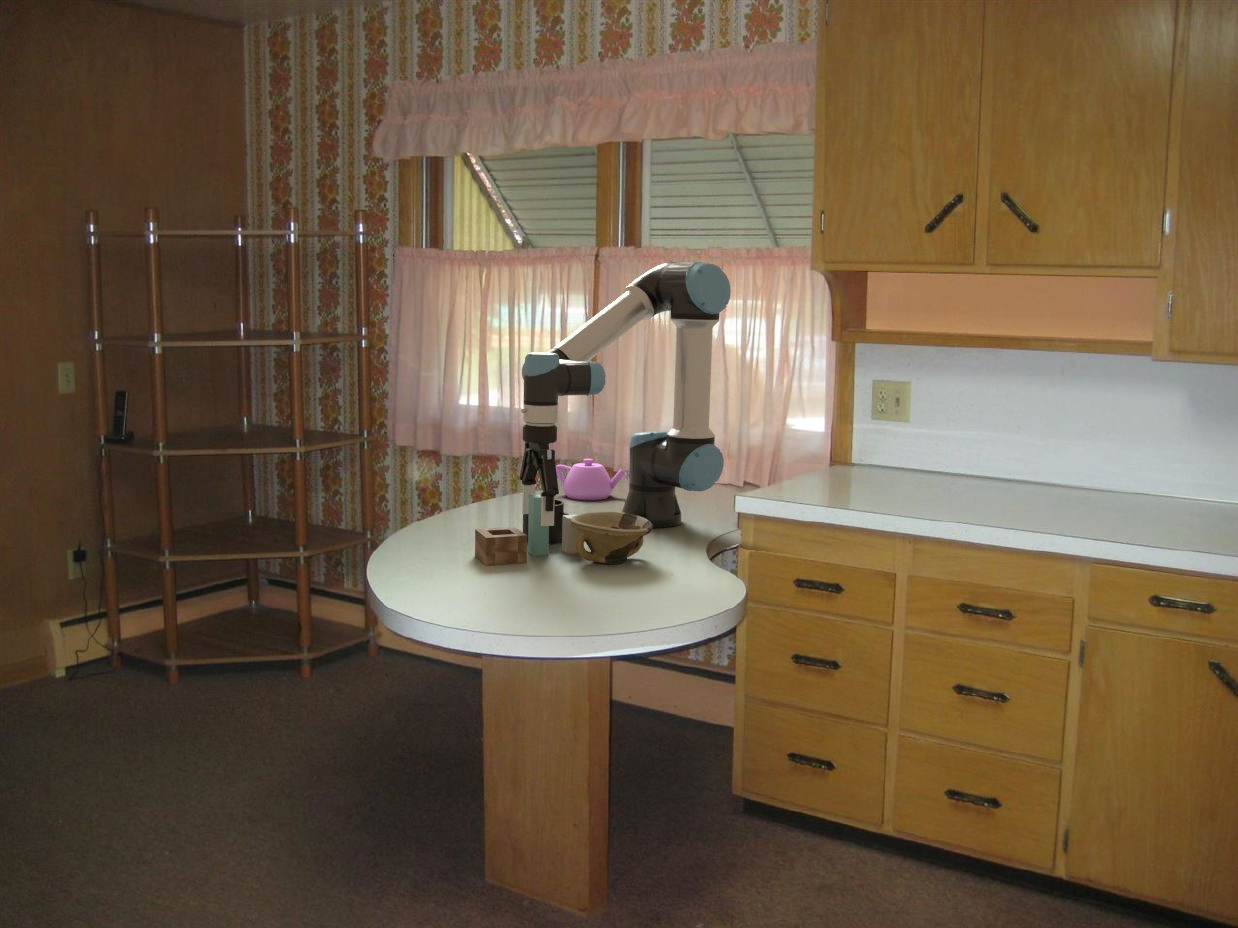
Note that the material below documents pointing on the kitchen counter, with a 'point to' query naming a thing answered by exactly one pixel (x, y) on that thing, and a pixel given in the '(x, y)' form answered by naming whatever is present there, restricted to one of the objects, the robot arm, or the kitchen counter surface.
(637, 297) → the robot arm
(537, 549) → the peg long
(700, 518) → the kitchen counter surface
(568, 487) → the teapot
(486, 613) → the kitchen counter surface
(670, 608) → the kitchen counter surface
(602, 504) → the kitchen counter surface
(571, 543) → the peg mid
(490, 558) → the socket block
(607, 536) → the bowl
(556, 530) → the mug
